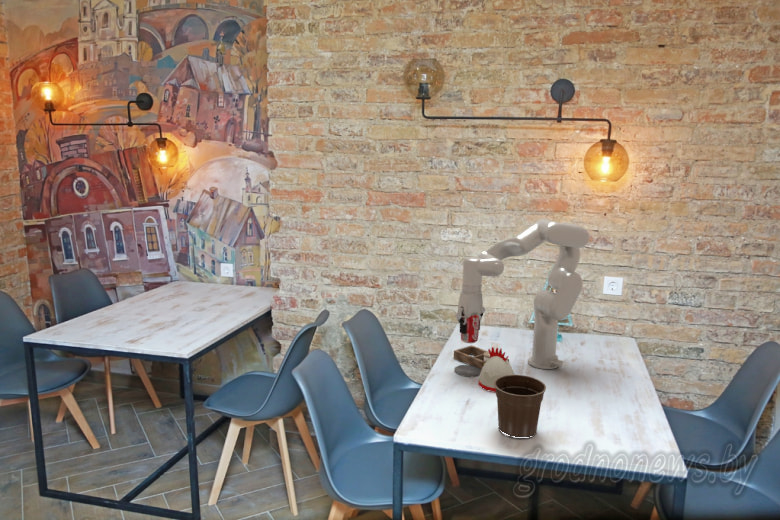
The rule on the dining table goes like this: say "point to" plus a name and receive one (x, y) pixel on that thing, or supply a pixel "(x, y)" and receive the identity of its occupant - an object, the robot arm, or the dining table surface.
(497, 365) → the beige crested helmet
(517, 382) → the plant pot
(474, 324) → the soda can
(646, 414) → the dining table surface
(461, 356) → the caddy
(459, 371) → the coaster
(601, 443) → the dining table surface
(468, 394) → the dining table surface
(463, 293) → the robot arm
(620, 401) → the dining table surface
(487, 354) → the sugar jar
